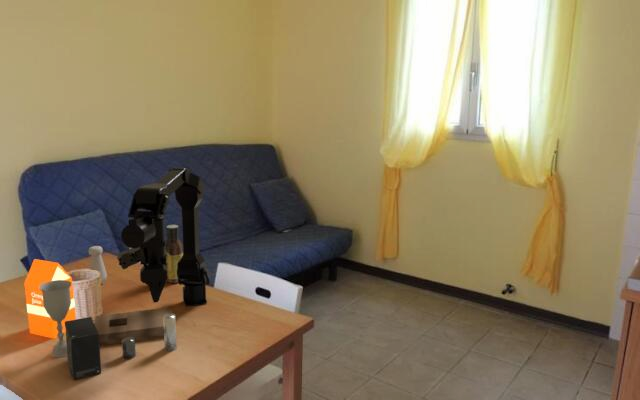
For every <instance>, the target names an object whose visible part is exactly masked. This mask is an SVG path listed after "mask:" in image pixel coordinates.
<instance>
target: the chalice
mask: <svg viewBox="0 0 640 400" xmlns="http://www.w3.org/2000/svg"><path fill="white" fill-rule="evenodd" d="M70 286H71V282H70V281H66V280H56V281H50V282H46V283H44V284H42V285H40V286H39V288H40V290H41V291H42V294H43V304H44V308H45V310H46V311H47V313H48V314H49V316H50V317H51V318H52V320H53V321H57V328H56V329H57V330H58V334H57V336H58V337H57V338H58V341H57V343H55V344H54V345H53V347H52V352H51V354H50V355H51V356H52V357H53V358H64V357H67V342H66V340H64V336H65V333H63V332H62V329H63V326H62V323H61V322H62V320H64V319H65V318H66V315H67V313H68V311H69V308H70V304H71V297H70Z"/></svg>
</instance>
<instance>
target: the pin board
mask: <svg viewBox="0 0 640 400" xmlns="http://www.w3.org/2000/svg"><path fill="white" fill-rule="evenodd" d="M169 313H172V311H171V306H169V307H160V308H153V309H152V308H151V309H145V310H143V309H142V310H136V311H129V312H128V311H127V312H120V313H119V312H117V313H110V314H109V313H108V314H102V315H96V316H95V319H94V324H95V326H96V329H97V331H98V333H99V346H103V345H106V346H107V345H111V344H113V345H114V344H120V343H122V339H124V338H126V337H134V338H135V341H142V340H148V339H156V338H162V337H163V338H164V326H163V316H164V315H165V314H169Z"/></svg>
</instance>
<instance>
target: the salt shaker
mask: <svg viewBox="0 0 640 400" xmlns="http://www.w3.org/2000/svg"><path fill="white" fill-rule="evenodd" d="M103 251H104V250H103V247H102V246H100V245H93V246H91V247H89V248H88V254H89V255H90V261H89V269H91V270H97V271H100V273H101V277H102V285H104V284H105V283H106V282H107V279H108V274H107V269H106V268H105V263H104V260H103V257H102V254H103Z"/></svg>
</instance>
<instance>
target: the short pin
mask: <svg viewBox="0 0 640 400" xmlns="http://www.w3.org/2000/svg"><path fill="white" fill-rule="evenodd" d="M121 347H122V350H121V351H122V358H123V359H124V360H131V359H134V358H136V356H137V353H136V340H135V338H134V337H126V338H124V339H122V342H121Z"/></svg>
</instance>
